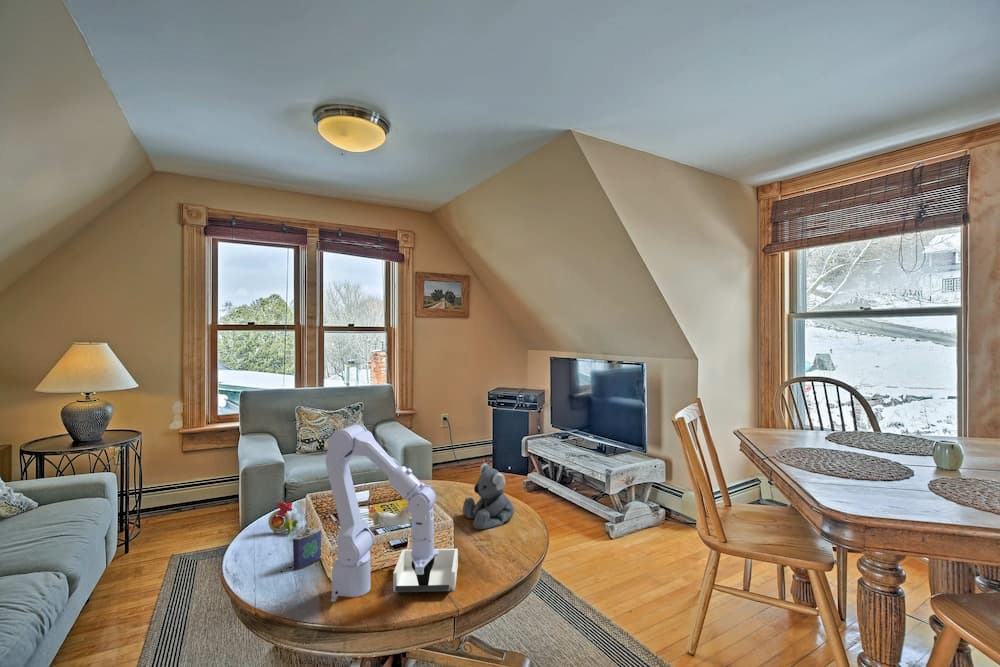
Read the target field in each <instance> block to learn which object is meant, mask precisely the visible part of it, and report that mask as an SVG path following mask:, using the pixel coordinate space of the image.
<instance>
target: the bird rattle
mask: <svg viewBox="0 0 1000 667" xmlns="http://www.w3.org/2000/svg"><path fill="white" fill-rule="evenodd" d="M276 506H277V508H278V510H275V511H274V512H273V513H271V514H270V515H269V517H268V526H269V529H271V531H272V533H273V534H275V535H276V534H277V533H282V532H284V531H285V530H287V535H290V534H291V532H292V528H296V527H297V523H298V524H299V520H298V519H293V520H291V516H290V513H288V512H292V511H293V507H292V506H293V501H291V502H285V501H283V502H277V503H276Z"/></svg>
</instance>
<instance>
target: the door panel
mask: <svg viewBox="0 0 1000 667" xmlns="http://www.w3.org/2000/svg"><path fill="white" fill-rule="evenodd" d="M395 591H396V592H397V593H421V592H422V593H425V592H426V593H427V592H429V593H430V592H432V593H433V592H434V593H435V592H451V588H450V586H449V585H419V586H396V587H395ZM396 592H395V593H396Z"/></svg>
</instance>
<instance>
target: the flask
mask: <svg viewBox="0 0 1000 667" xmlns="http://www.w3.org/2000/svg"><path fill="white" fill-rule="evenodd" d="M321 531H322V528H318V527H316V528H314V529H313V528H310V527H309V526H307V527H306V530H305V531H304V532H303V533H301V534H297V535H296V536H294V537H293V539H292V548H293V549H292V551H293V570H294V571H299V570H300V571H301V570H303V569H305V568H306V567H307V568H308V567H309V566H311V565H312V564H315V563H317V562H318V561H320V560H321V559H320V556H321V549H320V548H321V536H322V532H321Z"/></svg>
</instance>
